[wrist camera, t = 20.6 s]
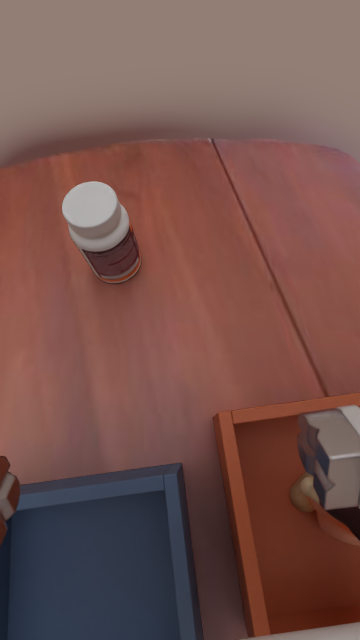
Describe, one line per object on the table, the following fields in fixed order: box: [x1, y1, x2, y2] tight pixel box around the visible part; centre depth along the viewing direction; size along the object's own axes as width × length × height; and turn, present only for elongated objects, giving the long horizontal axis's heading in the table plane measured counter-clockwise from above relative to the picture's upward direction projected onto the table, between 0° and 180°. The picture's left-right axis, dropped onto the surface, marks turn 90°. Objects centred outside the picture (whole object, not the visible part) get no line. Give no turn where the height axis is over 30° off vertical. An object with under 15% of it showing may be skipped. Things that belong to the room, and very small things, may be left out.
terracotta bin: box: [213, 393, 360, 638], centre depth 20 cm, size 15×14×7 cm
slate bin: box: [0, 463, 204, 640], centre depth 20 cm, size 14×14×7 cm
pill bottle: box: [62, 182, 141, 283], centre depth 27 cm, size 5×5×8 cm
